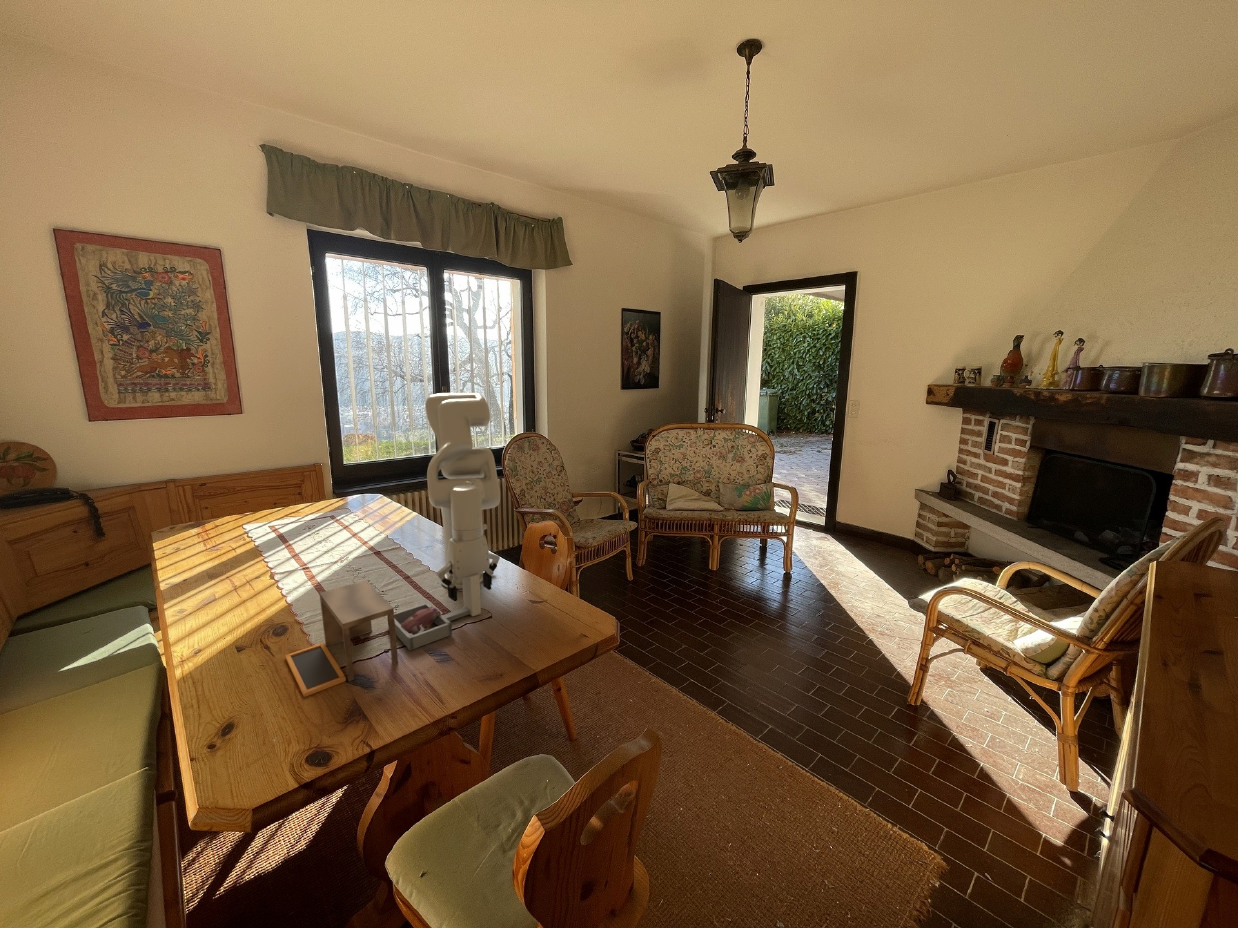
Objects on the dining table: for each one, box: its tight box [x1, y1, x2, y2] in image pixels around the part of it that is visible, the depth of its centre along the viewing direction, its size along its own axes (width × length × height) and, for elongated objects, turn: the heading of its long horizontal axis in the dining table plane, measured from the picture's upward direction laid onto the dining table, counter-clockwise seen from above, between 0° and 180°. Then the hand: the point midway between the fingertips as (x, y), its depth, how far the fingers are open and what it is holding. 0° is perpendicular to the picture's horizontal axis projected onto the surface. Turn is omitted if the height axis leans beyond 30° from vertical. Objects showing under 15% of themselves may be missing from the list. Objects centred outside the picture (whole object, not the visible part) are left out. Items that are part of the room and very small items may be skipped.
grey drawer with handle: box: [386, 574, 482, 651], centre depth 125 cm, size 20×14×11 cm
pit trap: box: [284, 642, 347, 698], centre depth 107 cm, size 8×18×1 cm, turn 43°
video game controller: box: [400, 605, 441, 636], centre depth 122 cm, size 10×5×7 cm, turn 148°
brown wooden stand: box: [319, 580, 399, 682], centre depth 112 cm, size 10×18×13 cm, turn 43°
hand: (470, 593), depth 131 cm, fingers open, 9 cm apart
